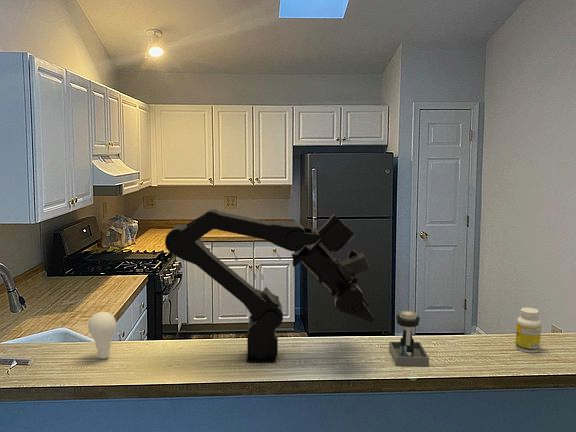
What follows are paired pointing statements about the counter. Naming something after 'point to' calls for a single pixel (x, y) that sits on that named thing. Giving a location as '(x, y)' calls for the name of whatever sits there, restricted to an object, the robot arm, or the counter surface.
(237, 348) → the counter surface
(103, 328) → the lightbulb
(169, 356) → the counter surface
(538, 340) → the supplement bottle
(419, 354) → the tray
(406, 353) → the push button
